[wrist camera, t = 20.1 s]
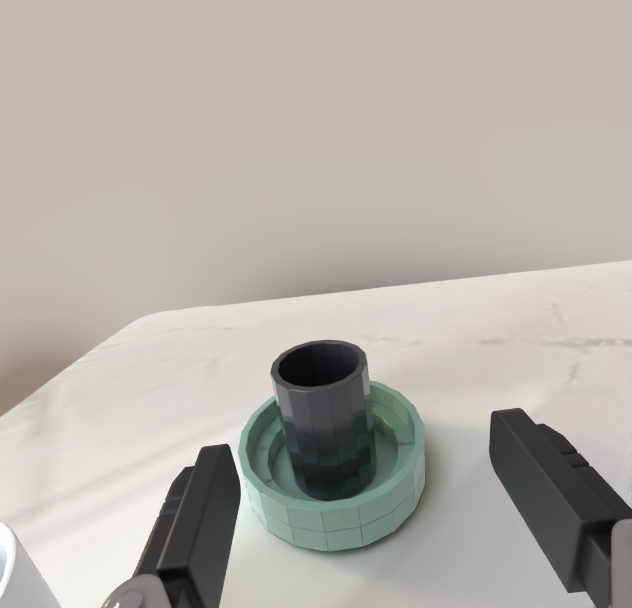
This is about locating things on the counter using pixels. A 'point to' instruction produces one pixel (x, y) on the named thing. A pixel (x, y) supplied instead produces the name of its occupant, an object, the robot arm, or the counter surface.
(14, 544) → the mug
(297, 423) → the cup
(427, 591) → the counter surface
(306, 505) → the bowl
